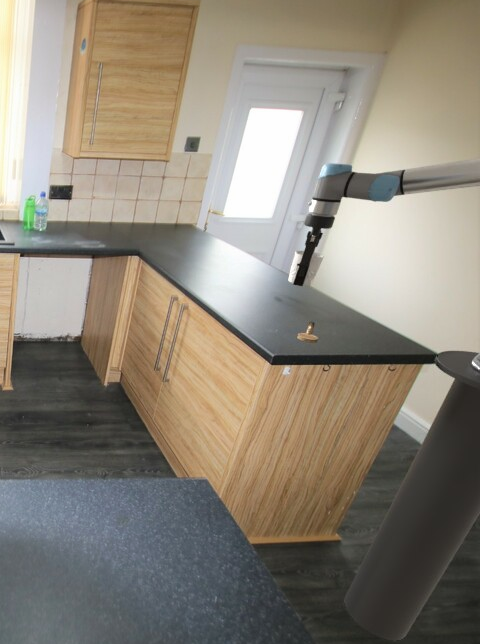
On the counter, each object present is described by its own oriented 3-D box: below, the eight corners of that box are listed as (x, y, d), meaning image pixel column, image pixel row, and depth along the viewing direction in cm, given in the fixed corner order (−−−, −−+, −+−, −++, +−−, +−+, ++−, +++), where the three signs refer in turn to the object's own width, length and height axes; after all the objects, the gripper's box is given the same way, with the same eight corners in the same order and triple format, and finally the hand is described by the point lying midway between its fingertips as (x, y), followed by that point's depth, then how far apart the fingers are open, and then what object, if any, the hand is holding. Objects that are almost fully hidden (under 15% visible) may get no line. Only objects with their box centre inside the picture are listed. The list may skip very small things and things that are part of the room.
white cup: (308, 280, 162) (318, 252, 158) (316, 287, 155) (327, 258, 151) (282, 277, 164) (292, 249, 160) (290, 285, 157) (300, 256, 153)
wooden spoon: (302, 323, 172) (303, 319, 171) (320, 327, 169) (322, 323, 168) (296, 339, 158) (297, 335, 157) (316, 344, 154) (318, 340, 154)
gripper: (310, 209, 160) (289, 273, 169) (304, 216, 145) (282, 287, 154) (337, 212, 156) (314, 278, 165) (334, 220, 141) (309, 292, 150)
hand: (299, 282), depth 160 cm, fingers closed on white cup, 8 cm apart
